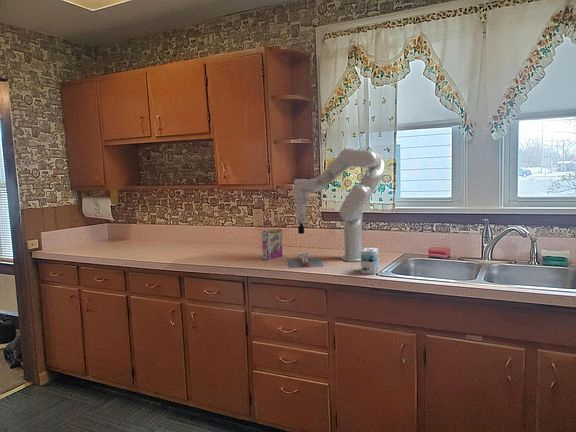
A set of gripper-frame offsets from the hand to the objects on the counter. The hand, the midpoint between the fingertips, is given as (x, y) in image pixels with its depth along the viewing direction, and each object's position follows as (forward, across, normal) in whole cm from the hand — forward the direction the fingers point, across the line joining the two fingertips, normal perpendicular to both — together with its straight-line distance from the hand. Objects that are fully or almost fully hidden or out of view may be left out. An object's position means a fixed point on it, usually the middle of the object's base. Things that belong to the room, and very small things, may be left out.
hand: (301, 233), depth 256 cm
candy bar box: (+14, +1, -16) cm, 22 cm away
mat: (+13, +18, +1) cm, 22 cm away
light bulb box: (+13, +41, +31) cm, 53 cm away
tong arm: (+13, +22, 0) cm, 25 cm away
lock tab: (+13, +8, +1) cm, 15 cm away
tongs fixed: (+13, +20, +1) cm, 24 cm away
